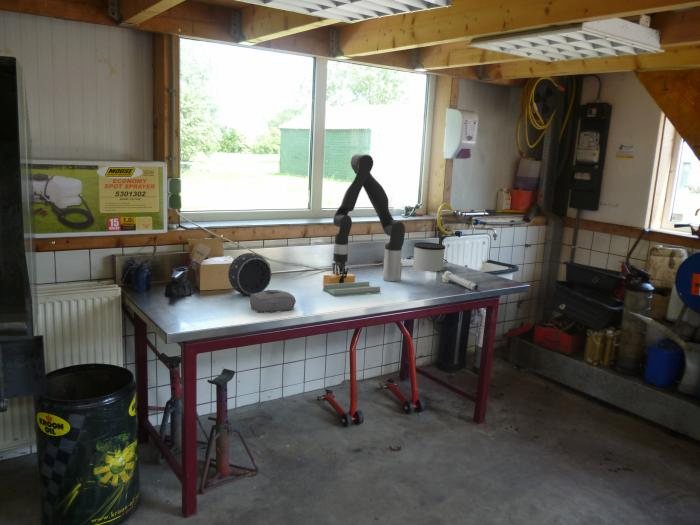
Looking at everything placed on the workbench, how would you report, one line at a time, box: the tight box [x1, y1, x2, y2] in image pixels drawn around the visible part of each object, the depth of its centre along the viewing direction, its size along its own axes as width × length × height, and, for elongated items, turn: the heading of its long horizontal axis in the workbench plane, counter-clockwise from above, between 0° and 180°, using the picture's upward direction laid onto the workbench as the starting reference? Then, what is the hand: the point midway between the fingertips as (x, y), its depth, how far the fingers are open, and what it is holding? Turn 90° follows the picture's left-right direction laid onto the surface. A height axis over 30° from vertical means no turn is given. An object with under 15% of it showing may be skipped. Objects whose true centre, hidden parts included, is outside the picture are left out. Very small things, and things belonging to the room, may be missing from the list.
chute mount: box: [322, 281, 381, 297], centre depth 300 cm, size 26×13×3 cm, turn 118°
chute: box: [322, 273, 356, 286], centre depth 312 cm, size 16×6×5 cm, turn 118°
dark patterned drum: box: [227, 252, 273, 296], centre depth 282 cm, size 11×20×20 cm, turn 126°
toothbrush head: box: [441, 270, 479, 292], centre depth 326 cm, size 5×7×25 cm
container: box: [412, 241, 446, 272], centre depth 365 cm, size 19×19×15 cm
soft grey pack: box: [249, 289, 297, 313], centre depth 262 cm, size 15×8×20 cm
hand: (339, 284), depth 312 cm, fingers closed on chute, 4 cm apart
